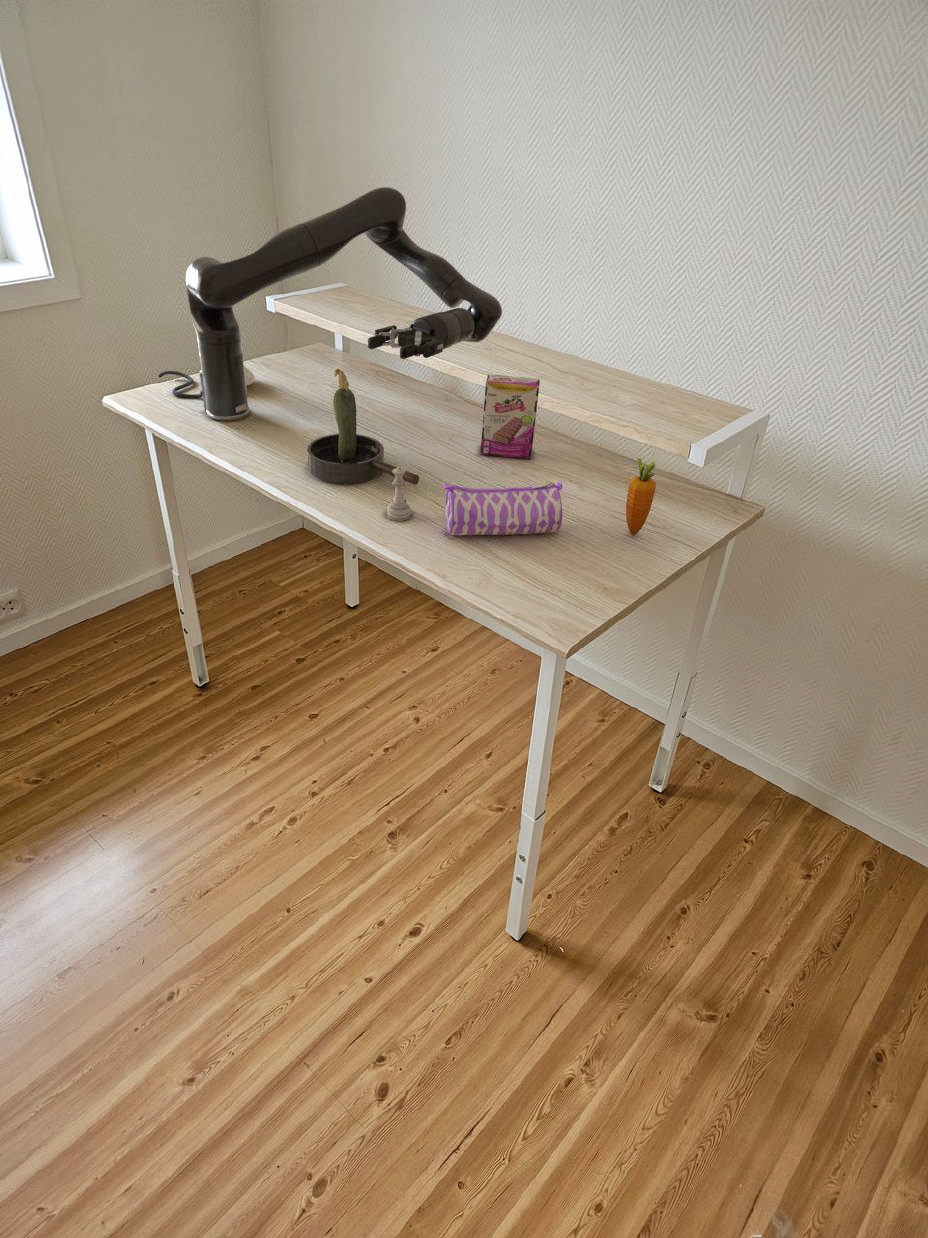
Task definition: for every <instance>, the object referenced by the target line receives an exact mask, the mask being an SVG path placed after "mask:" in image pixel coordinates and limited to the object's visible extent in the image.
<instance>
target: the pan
mask: <svg viewBox="0 0 928 1238" xmlns="http://www.w3.org/2000/svg"><path fill="white" fill-rule="evenodd" d="M356 442H357V443H356V450H355V454H354V457H353V459H352V460H351V461H350V462H349V463H347V464H345V463H341V461H340V457H339V456H338V448H339V433H333V434H327V435H324V436H320V437H318V438H316V439H314V440H312V441H311V442H309V444H308V445H307V447H306V460H307V468H308V469H307V470H308V471H309V473H310V475H313V476H314V477H315V478H317V479H318V480H319V481H322V482H326V483H329V484H335V485H357V484H363V483H367V482H369V481H372V480H374V479H376V478H377V477H378V476H379V475H381V474H382V473H383V472H380V471H378V470H375V469H373V468H371V462H372V460H373V459H378V460H380V461H383V462H385V447H384V445H383V443H381V442H380V440H377V439H376V438H373V437H371V436H369V435H364V434H358V433H356Z"/></svg>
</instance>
